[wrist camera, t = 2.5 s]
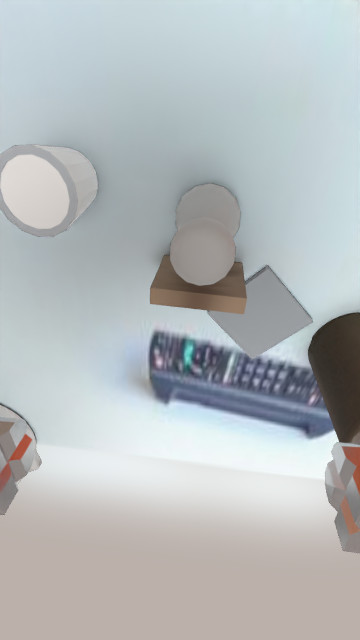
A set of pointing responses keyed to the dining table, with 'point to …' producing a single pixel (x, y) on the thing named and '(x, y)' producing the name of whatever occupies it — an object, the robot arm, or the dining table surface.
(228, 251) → the salt shaker
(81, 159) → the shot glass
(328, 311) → the dining table surface
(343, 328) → the pillar candle
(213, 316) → the slate mat
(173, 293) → the walnut box
